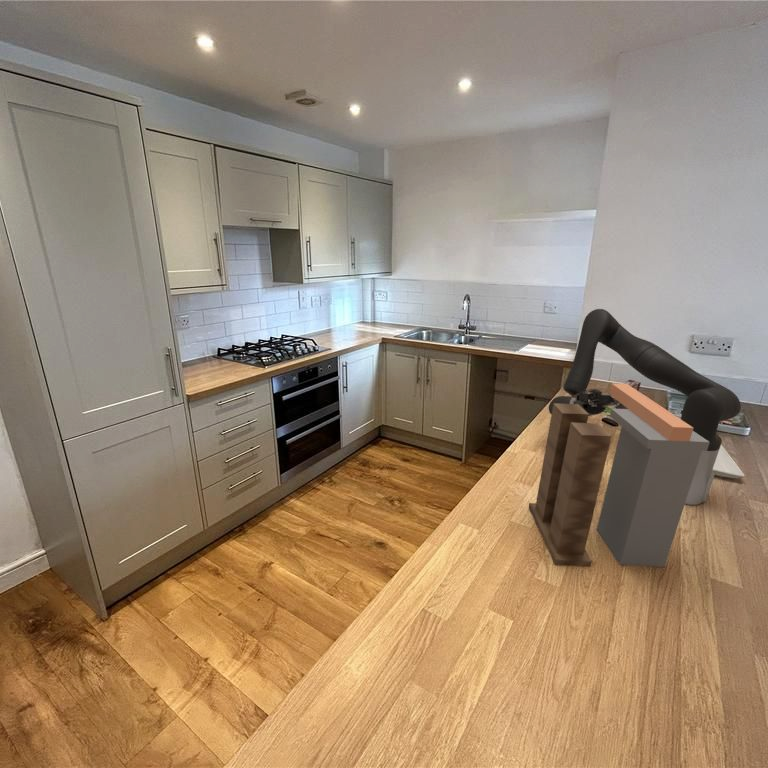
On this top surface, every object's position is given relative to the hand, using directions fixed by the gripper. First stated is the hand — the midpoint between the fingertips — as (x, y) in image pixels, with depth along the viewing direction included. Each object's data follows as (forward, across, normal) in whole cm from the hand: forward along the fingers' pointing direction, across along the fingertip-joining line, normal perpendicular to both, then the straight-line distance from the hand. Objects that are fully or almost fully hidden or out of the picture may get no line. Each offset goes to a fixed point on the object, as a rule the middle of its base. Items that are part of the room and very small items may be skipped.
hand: (615, 395), depth 108 cm
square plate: (-40, +42, +14) cm, 60 cm away
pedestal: (0, 0, +36) cm, 36 cm away
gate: (-1, -16, +36) cm, 39 cm away
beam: (+12, 0, +6) cm, 13 cm away
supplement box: (-66, +37, -2) cm, 75 cm away
